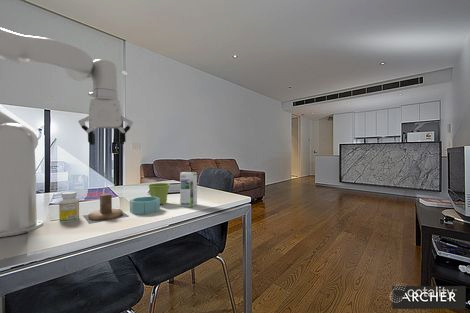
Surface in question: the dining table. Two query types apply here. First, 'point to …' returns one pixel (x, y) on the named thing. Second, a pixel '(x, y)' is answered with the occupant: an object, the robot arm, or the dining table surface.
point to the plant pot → (159, 191)
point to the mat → (103, 220)
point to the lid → (105, 209)
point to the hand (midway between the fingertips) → (107, 144)
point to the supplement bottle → (69, 207)
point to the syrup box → (188, 189)
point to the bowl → (144, 205)
